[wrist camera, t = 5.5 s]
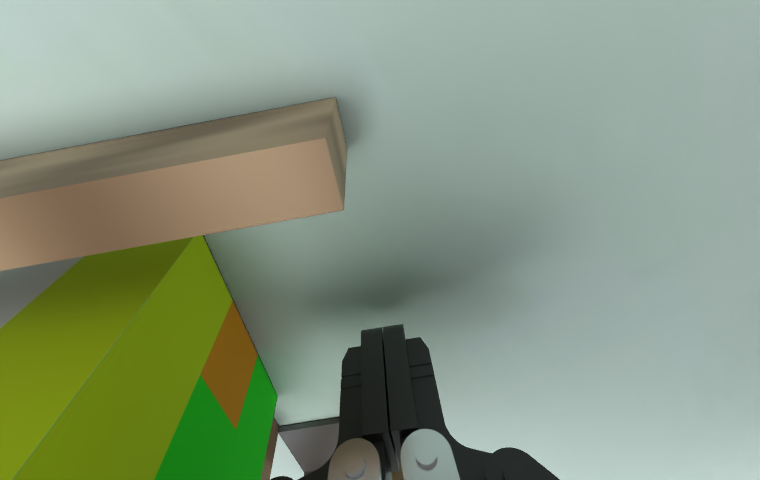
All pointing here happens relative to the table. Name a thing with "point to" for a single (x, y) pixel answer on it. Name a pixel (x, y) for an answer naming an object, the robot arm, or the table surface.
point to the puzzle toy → (129, 370)
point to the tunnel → (181, 202)
